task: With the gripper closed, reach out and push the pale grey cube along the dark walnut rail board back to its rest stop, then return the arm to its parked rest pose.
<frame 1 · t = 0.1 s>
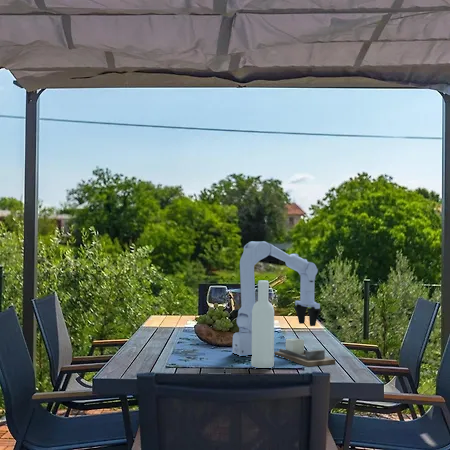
hand: (307, 324, 242), 10 cm above the table, tool pointing down, fingers open, 7 cm apart
bottle: (262, 367, 206), on the table
rail board: (303, 359, 220), on the table
pale grey cube: (294, 346, 225), point 4 cm above the table, slide at 9.0 cm, touching rail board
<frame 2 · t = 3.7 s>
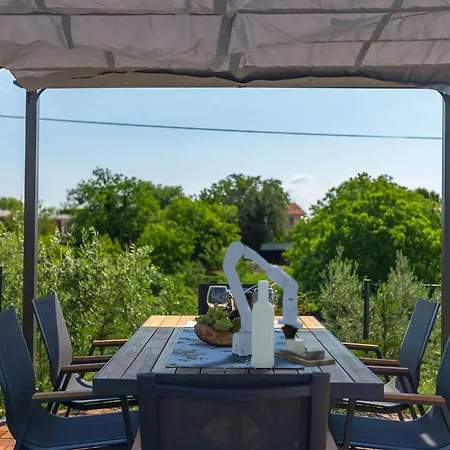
hand: (289, 344, 228), 4 cm above the table, tool pointing down, fingers closed
pale grey cube: (295, 346, 225), point 4 cm above the table, slide at 8.5 cm, touching gripper, rail board
everything else where it was.
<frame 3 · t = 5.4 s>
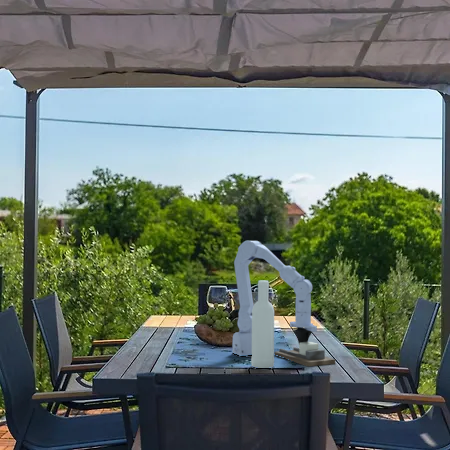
hand: (302, 348, 221), 4 cm above the table, tool pointing down, fingers closed
pale grey cube: (308, 350, 217), point 4 cm above the table, slide at -0.1 cm, touching gripper, rail board
everything else where it was.
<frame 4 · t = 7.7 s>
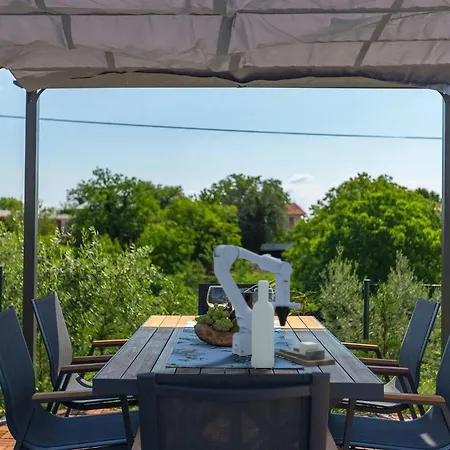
hand: (282, 325, 234), 10 cm above the table, tool pointing down, fingers closed
pale grey cube: (308, 350, 217), point 4 cm above the table, slide at 0.0 cm, touching rail board
everything else where it was.
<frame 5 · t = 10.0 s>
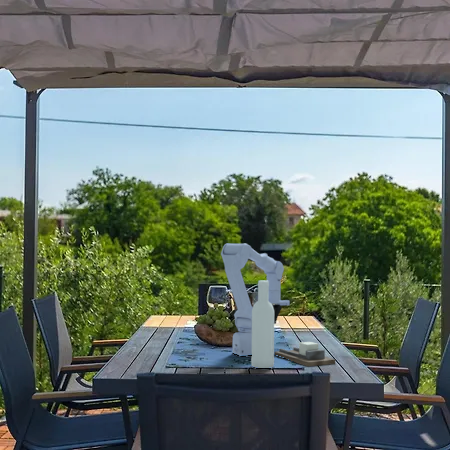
hand: (273, 323, 241), 10 cm above the table, tool pointing down, fingers closed
nothing on the table moved.
at the end: pale grey cube slide at 0.0 cm; bottle moved 0.2 cm from its start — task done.
